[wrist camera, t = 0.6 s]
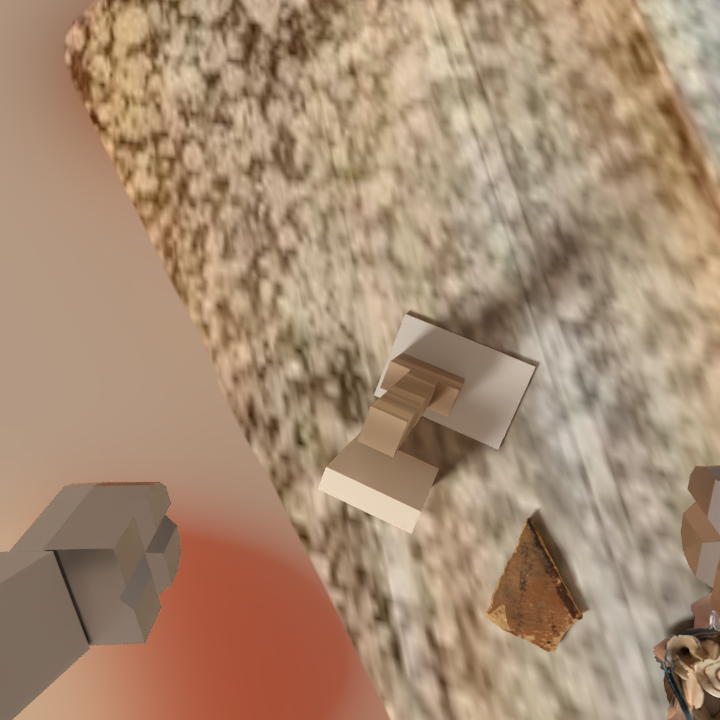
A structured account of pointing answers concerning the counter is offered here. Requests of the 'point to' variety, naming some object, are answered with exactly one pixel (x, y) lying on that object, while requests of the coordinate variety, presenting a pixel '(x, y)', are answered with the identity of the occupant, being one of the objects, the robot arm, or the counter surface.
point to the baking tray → (692, 664)
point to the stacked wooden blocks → (407, 401)
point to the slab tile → (380, 483)
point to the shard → (533, 595)
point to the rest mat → (467, 379)
